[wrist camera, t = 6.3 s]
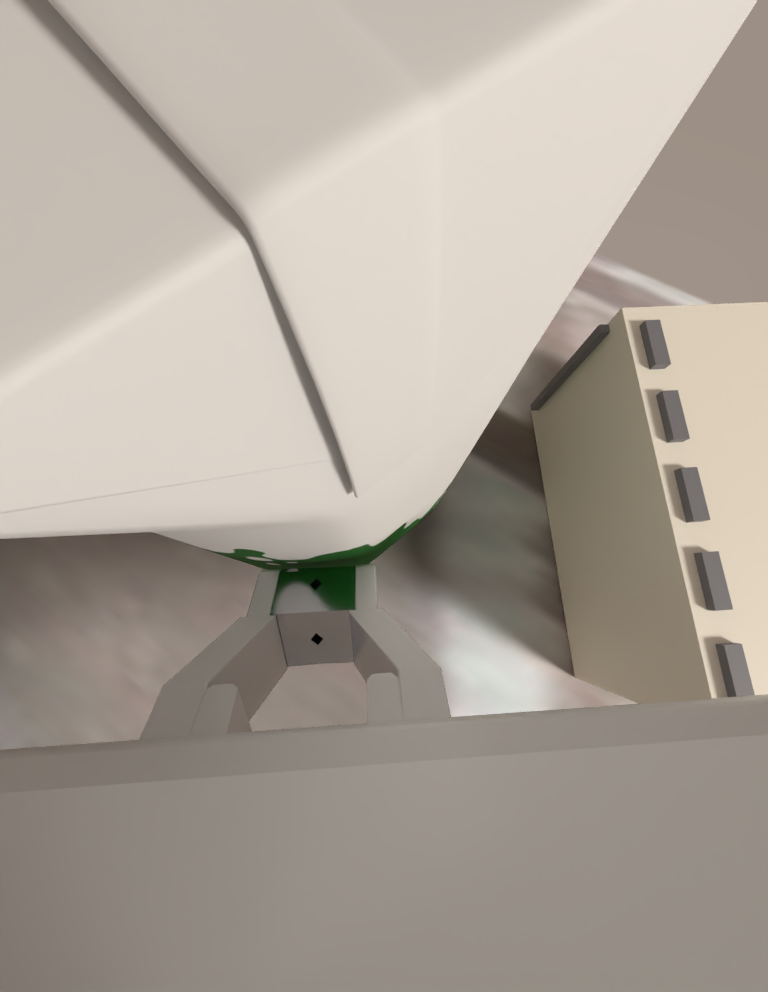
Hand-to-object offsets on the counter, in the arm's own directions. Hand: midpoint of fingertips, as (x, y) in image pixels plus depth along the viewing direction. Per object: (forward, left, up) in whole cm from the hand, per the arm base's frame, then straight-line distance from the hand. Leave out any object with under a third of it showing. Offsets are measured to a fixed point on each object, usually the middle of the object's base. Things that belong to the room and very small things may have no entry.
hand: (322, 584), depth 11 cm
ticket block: (+13, +2, -8) cm, 16 cm away
